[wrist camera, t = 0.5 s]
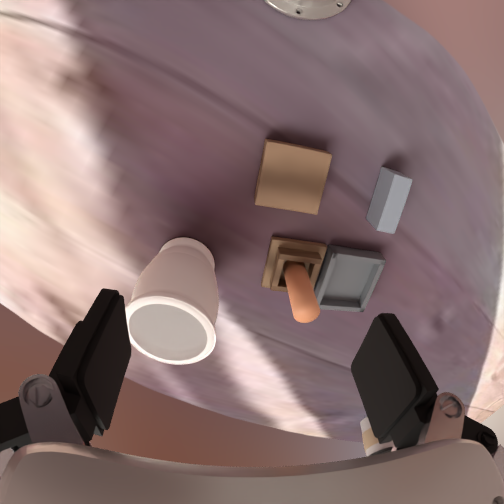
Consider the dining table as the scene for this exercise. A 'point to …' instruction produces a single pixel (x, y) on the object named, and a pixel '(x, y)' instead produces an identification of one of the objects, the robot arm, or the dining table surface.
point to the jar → (175, 304)
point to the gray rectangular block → (388, 200)
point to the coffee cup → (373, 440)
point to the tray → (347, 278)
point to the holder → (293, 252)
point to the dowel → (300, 292)
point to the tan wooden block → (291, 176)
